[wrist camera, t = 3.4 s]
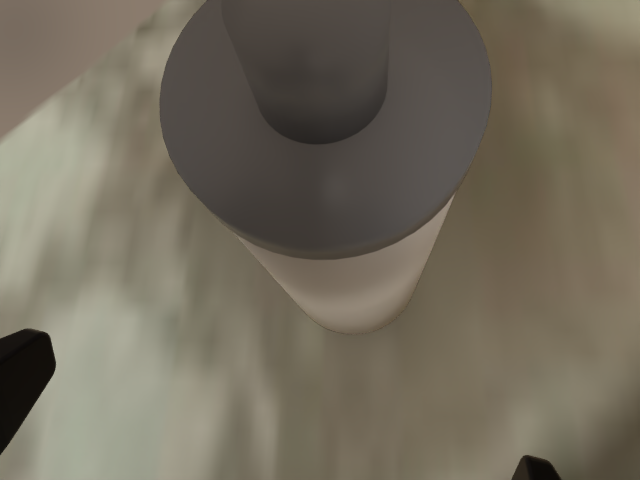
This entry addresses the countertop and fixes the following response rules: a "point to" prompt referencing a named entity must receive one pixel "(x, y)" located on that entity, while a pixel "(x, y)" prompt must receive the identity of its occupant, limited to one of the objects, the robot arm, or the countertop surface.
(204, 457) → the countertop surface
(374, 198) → the white bottle
